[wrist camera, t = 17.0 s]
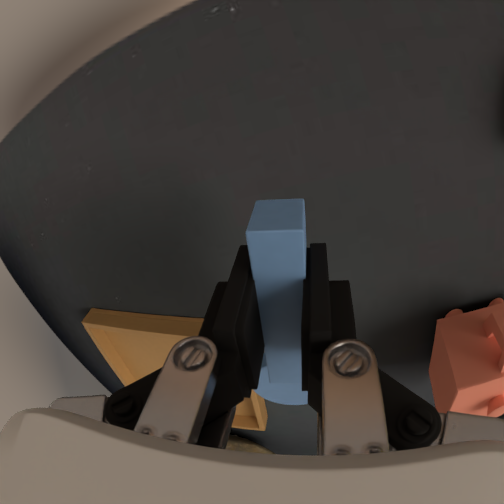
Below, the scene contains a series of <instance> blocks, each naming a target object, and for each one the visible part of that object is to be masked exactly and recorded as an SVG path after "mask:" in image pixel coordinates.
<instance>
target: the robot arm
mask: <svg viewBox="0 0 504 504" xmlns="http://www.w3.org/2000/svg"><path fill="white" fill-rule="evenodd" d="M264 348H265V344H264V338H263V332H262V325H261V319H260V313H259V306H258V300H257V293H256V287H255V281H254V280H253V277H252V270H251V264H250V258H249V252H248V246H247V245H241V246H240V248H239V250H238V253H237V256H236V259H235V262H234V265H233V268H232V271H231V274H230V277H229V280H228V282H218V284H217V286H216V288H215V291H214V293H213V296H212V299H211V302H210V304H209V307H208V310H207V312H206V315H205V318H204V320H203V323H202V326H201V329H200V331H199V334H198V336H190V337H187V338H184V339H182V340H180V341H178V342H177V343H176V344H175V345H174V346H173V347H172V348H171V350H170V352H169V354H168V356H167V358H166V360H165V362H164V364H163V367H161V368H160V369H158V370H156V371H154V372H152V373H150V374H148V375H146V376H145V377H143V378H141V379H139V380H137V381H135V382H133V383H131V384H129V385H127V386H126V387H124V388H122V389H120V390H118V391H116V392H115V393H113V394H112V395H111V396H110V397H107V396H106V395H95V396H80V397H62V398H58V399H56V400H55V401H53V402H52V403H51V405H50V406H49V408H32V409H26V410H23V411H20V412H18V413H16V414H15V415H14V416H13V417H11V418H10V420H9V421H8V422H7V423H6V425H5V426H4V428H3V429H2V431H1V433H0V504H504V419H501V418H497V417H488V416H480V415H472V414H465V413H459V412H452V411H447V413H446V414H445V413H439V412H438V411H437V410H436V409H435V408H434V407H433V406H432V405H431V404H429V403H428V402H426V401H425V400H423V399H422V398H420V397H419V396H418V395H416V394H415V393H413V392H412V391H410V390H409V389H407V388H406V387H404V386H403V385H402V384H400V383H399V382H397V381H396V380H394V379H393V378H391V377H390V376H389V375H387V374H386V373H384V372H383V371H381V370H380V369H379V368H378V366H377V360H376V356H375V354H374V351H373V350H372V349H371V347H370V346H369V345H367V344H366V343H364V342H363V341H360V340H357V338H356V329H355V321H354V313H353V305H352V298H351V290H350V284H349V281H348V280H343V281H329V277H328V263H327V251H326V243H313V244H310V248H306V279H304V280H303V297H302V319H301V367H302V391H308V404H309V405H310V406H311V407H312V408H313V409H314V410H316V411H317V412H318V414H317V456H305V455H278V454H263V453H252V452H242V451H233V450H225V449H226V446H227V442H228V438H229V434H230V431H231V427H232V423H233V420H234V416H235V412H236V405H238V404H239V403H241V402H242V401H244V398H250V397H251V392H252V389H255V390H257V388H258V384H259V378H260V372H261V366H262V360H263V354H264Z"/></svg>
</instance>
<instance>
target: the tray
mask: <svg viewBox="0 0 504 504" xmlns="http://www.w3.org/2000/svg"><path fill="white" fill-rule="evenodd" d="M203 320H204V318H189V317H176V316H163V315H152V314H141V313H131V312H122V311H113V310H104V309H96V308H91V310H90V311H89V312H88V314H87V315H86V317H85V318H84V319H83V321H82V324H83V325H84V327H85V329H86V330H87V332H88V333H89V335H90V337H91V338H92V340H93V341H94V343H95V344H96V346H97V347H98V349H99V350H100V352H101V353H102V355H103V356H104V358H105V359H106V361H107V362H108V364H109V365H110V367H111V368H112V369H113V371H114V372H115V374H116V375H117V376H118V378H119V379H120V380H121V382H122V383H123V384H124V386H125V387H126V386H127V385H129V384H131V383H133V382H135V381H137V380H139V379H141V378H143V377H145V376H146V375H148V374H150V373H152V372H154V371H156V370H158V369H160V368H161V367H163V364H164V362H165V360H166V358H167V356H168V354H169V352H170V350H171V348H172V347H173V346H174V345H175V344H176V343H177V342H178V341H180V340H182V339H184V338H187V337H190V336H198V334H199V331H200V329H201V326H202V323H203ZM267 417H268V416H267V411H266V406H265V401H264V398H262V397H261V396H259V395H258V394H257V393H255V391H254V390H253V389H252V392H251V397H250V398H244V401H242V402H241V403H239V404H238V405H236V412H235V416H234V420H233V423H232V428H241V429H250V430H261V431H265V428H266V423H267Z"/></svg>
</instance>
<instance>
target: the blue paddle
mask: <svg viewBox="0 0 504 504" xmlns="http://www.w3.org/2000/svg"><path fill="white" fill-rule="evenodd" d="M246 239H247V246H248V252H249V258H250V264H251V270H252V277H253V280H254V281H255V287H256V293H257V300H258V306H259V313H260V319H261V325H262V332H263V338H264V344H265V348H264V351H265V353H264V354H263V360H262V366H261V372H260V378H259V384H258V388H257V390H255V389H253V390H254V391H255V393H257V394H258V395H259V396H261V397H262V398H264V399H267V400H269V401H272V402H275V403H280V404H286V405H303V404H308V391H302V367H301V319H302V297H303V280H304V279H306V248H307V247H306V224H305V205H304V199H279V200H258V201H256V203H255V206H254V209H253V212H252V215H251V218H250V221H249V224H248V227H247V230H246Z"/></svg>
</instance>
